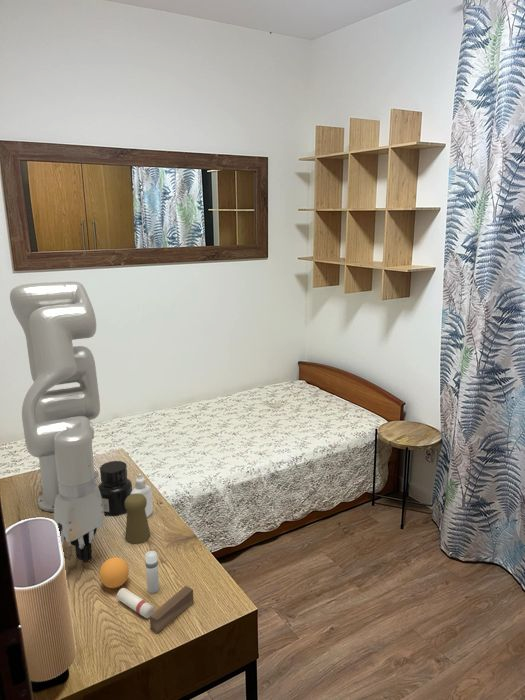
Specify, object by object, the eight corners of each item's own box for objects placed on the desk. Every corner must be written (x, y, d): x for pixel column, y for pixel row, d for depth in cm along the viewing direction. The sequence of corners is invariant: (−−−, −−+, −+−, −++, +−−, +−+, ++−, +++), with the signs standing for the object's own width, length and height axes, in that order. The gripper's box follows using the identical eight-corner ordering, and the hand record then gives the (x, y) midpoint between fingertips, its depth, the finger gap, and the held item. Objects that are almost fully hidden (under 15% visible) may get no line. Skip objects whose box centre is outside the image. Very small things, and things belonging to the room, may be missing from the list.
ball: (115, 594, 106) (101, 593, 110) (138, 576, 111) (123, 576, 115) (103, 568, 106) (89, 568, 110) (127, 551, 111) (112, 551, 115)
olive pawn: (144, 545, 124) (141, 504, 122) (120, 542, 126) (117, 501, 123) (154, 531, 130) (152, 491, 127) (131, 528, 131) (129, 488, 129)
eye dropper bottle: (154, 518, 136) (152, 476, 133) (132, 522, 134) (129, 480, 131) (151, 509, 140) (149, 468, 137) (130, 513, 138) (127, 472, 135)
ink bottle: (100, 499, 144) (97, 460, 141) (133, 495, 146) (130, 456, 143) (98, 519, 135) (94, 477, 132) (133, 514, 137) (130, 473, 134)
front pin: (121, 601, 107) (148, 620, 102) (114, 597, 106) (142, 616, 101) (128, 590, 108) (156, 608, 103) (122, 585, 107) (149, 603, 102)
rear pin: (144, 590, 110) (142, 555, 107) (153, 583, 112) (151, 548, 109) (153, 595, 108) (150, 559, 106) (161, 588, 110) (159, 553, 108)
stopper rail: (150, 628, 99) (149, 615, 99) (186, 597, 107) (185, 585, 107) (157, 633, 98) (157, 620, 98) (193, 601, 106) (193, 589, 106)
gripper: (94, 467, 121) (100, 536, 125) (35, 495, 109) (44, 570, 113) (116, 476, 117) (122, 547, 121) (57, 506, 105) (66, 584, 109)
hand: (84, 558), depth 117 cm, fingers closed
